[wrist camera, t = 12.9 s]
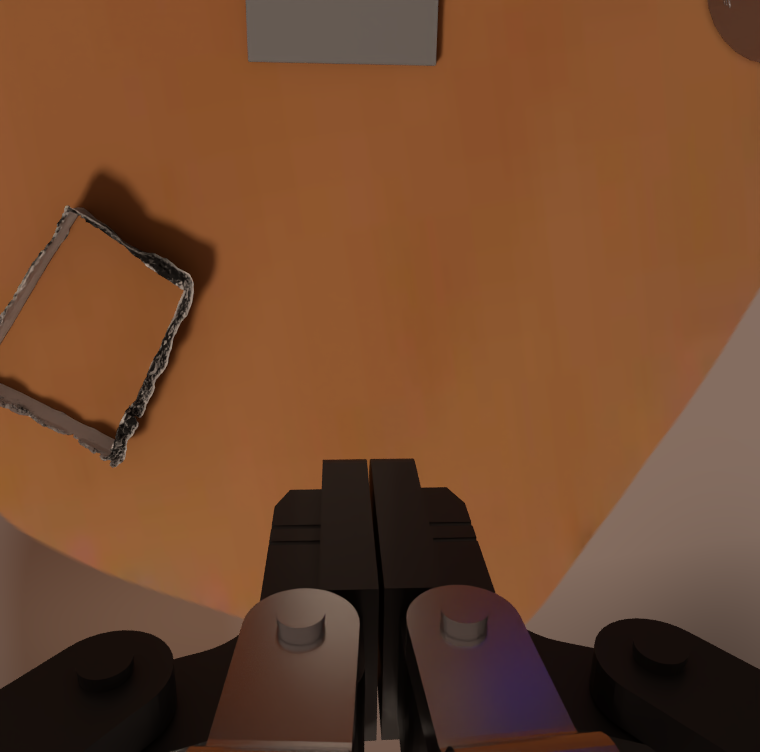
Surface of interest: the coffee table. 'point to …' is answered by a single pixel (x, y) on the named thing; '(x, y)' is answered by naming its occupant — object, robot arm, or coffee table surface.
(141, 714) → the robot arm
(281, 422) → the coffee table surface
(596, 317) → the coffee table surface
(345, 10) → the rubber mat
